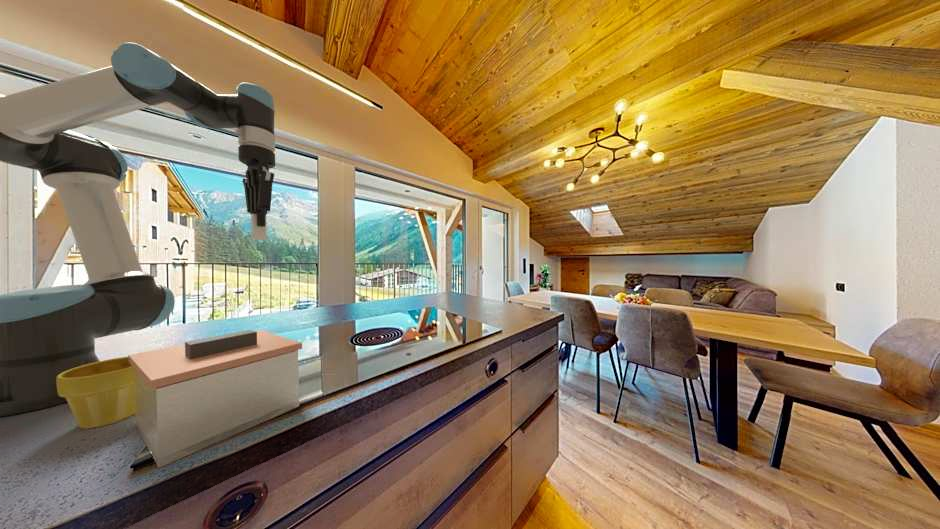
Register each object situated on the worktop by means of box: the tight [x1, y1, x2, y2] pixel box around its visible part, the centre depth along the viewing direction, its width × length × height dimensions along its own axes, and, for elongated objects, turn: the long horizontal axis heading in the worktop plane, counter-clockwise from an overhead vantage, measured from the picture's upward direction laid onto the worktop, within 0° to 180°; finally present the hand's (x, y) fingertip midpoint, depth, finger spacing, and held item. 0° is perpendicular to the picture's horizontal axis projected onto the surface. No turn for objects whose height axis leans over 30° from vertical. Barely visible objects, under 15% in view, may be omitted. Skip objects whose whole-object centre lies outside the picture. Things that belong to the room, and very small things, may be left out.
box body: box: [134, 350, 300, 469], centre depth 49 cm, size 18×18×11 cm
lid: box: [127, 329, 303, 389], centre depth 49 cm, size 19×19×4 cm
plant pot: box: [56, 356, 135, 430], centre depth 48 cm, size 10×10×10 cm
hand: (259, 239), depth 69 cm, fingers closed
